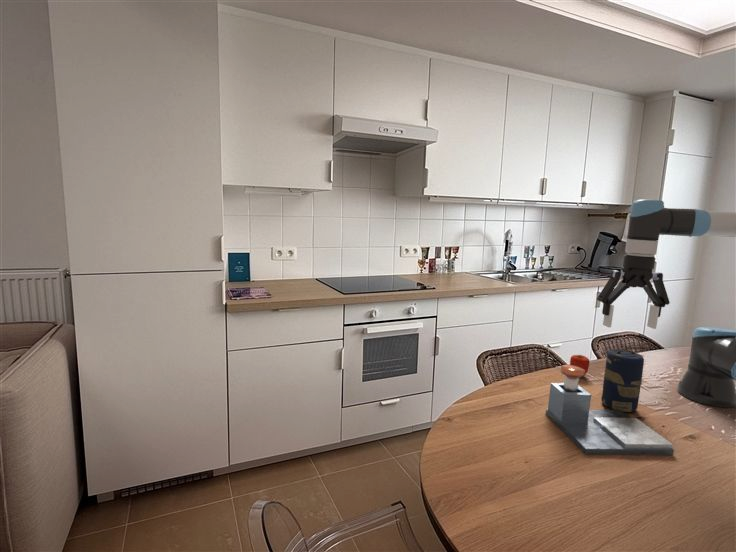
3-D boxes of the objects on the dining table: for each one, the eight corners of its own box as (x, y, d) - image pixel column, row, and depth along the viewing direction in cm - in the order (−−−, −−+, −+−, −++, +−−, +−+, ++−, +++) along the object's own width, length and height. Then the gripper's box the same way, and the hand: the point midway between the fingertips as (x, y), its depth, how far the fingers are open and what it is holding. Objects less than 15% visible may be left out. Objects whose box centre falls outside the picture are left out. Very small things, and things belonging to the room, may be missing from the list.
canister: (642, 416, 119) (651, 357, 116) (606, 412, 121) (615, 353, 118) (629, 402, 129) (637, 346, 126) (596, 398, 130) (603, 343, 128)
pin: (573, 394, 117) (577, 365, 116) (585, 404, 111) (589, 373, 110) (553, 394, 117) (556, 364, 115) (564, 403, 111) (568, 373, 109)
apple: (570, 371, 153) (572, 351, 152) (588, 375, 149) (591, 355, 148) (566, 376, 148) (569, 356, 147) (586, 380, 144) (588, 360, 143)
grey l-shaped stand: (619, 414, 120) (623, 383, 118) (673, 455, 100) (679, 418, 99) (545, 413, 119) (549, 382, 117) (585, 454, 99) (590, 417, 97)
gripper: (671, 255, 122) (660, 324, 125) (590, 251, 121) (580, 322, 124) (692, 258, 115) (680, 331, 118) (605, 254, 113) (595, 329, 117)
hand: (629, 326), depth 121 cm, fingers open, 13 cm apart
